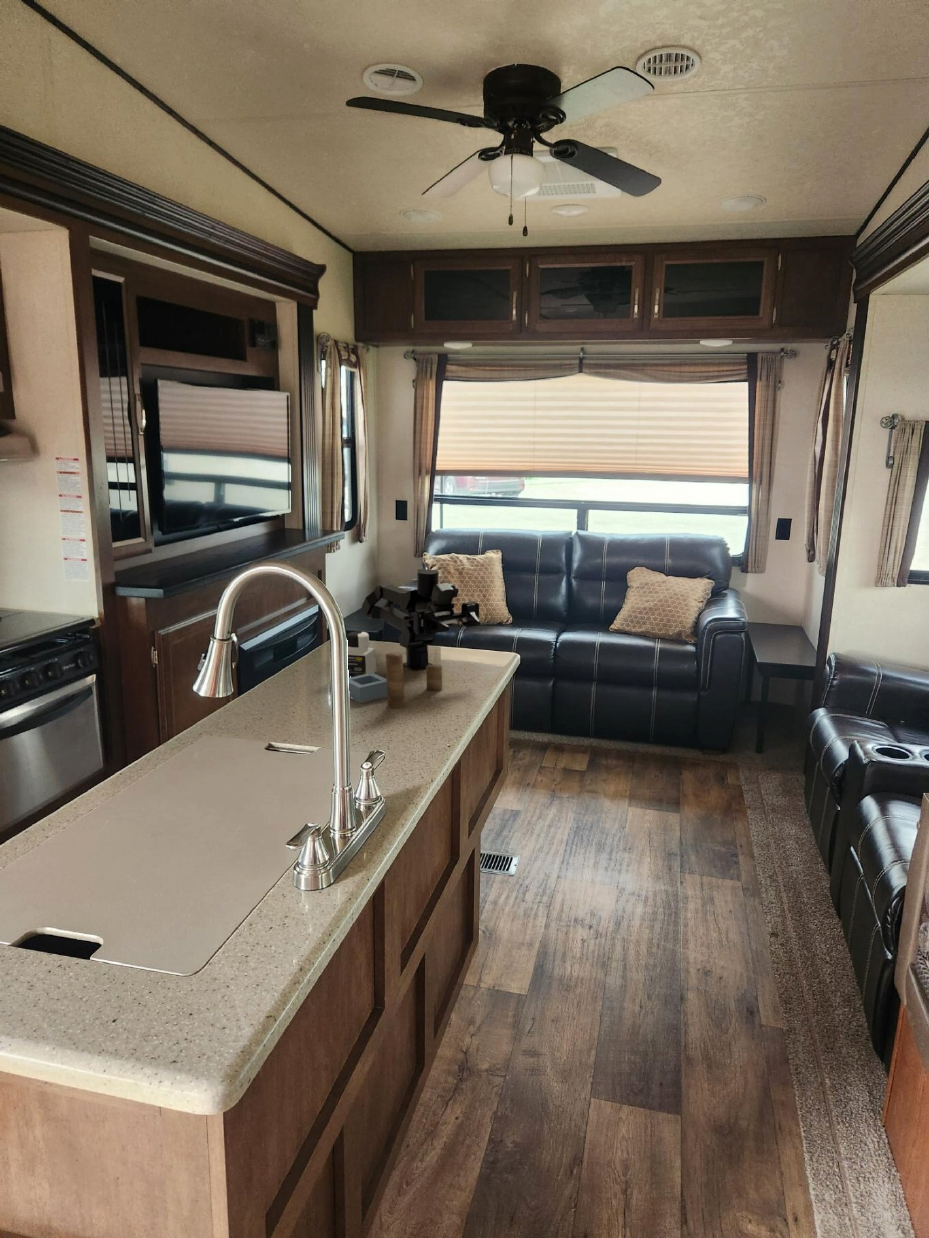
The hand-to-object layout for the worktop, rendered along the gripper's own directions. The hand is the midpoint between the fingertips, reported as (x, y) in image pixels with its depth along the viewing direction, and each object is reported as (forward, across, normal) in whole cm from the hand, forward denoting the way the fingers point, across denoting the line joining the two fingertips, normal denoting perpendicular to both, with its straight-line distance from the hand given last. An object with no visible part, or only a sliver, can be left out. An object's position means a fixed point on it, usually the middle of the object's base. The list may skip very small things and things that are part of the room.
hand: (464, 626), depth 210 cm
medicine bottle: (-26, -17, +19) cm, 36 cm away
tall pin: (+2, -20, +16) cm, 26 cm away
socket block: (-9, -23, +17) cm, 30 cm away
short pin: (-3, -6, +17) cm, 18 cm away
